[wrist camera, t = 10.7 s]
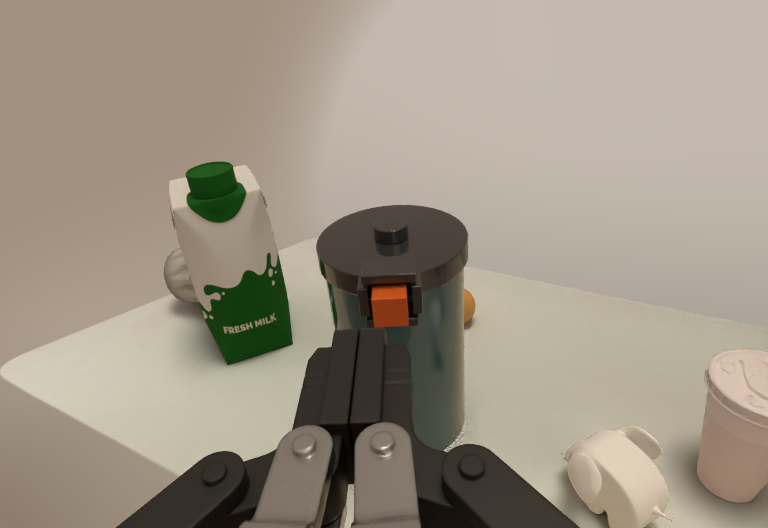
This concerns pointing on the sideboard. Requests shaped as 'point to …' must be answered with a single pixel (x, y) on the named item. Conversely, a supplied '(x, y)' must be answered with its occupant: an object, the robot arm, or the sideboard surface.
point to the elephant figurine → (619, 476)
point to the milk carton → (232, 258)
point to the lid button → (390, 306)
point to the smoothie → (735, 425)
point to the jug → (424, 295)
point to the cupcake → (179, 277)
